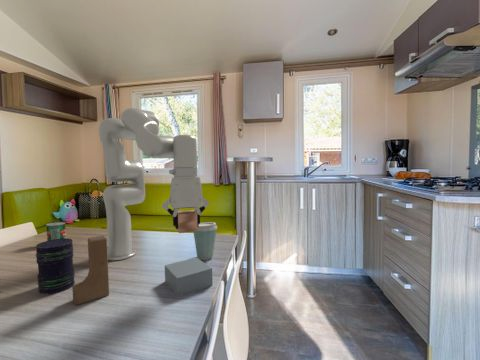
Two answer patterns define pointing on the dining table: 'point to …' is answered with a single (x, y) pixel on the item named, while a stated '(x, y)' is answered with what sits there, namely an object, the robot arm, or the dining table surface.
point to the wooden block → (94, 273)
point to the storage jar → (55, 266)
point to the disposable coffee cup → (205, 240)
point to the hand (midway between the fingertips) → (186, 226)
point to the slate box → (188, 276)
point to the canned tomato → (56, 231)
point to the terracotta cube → (187, 221)
